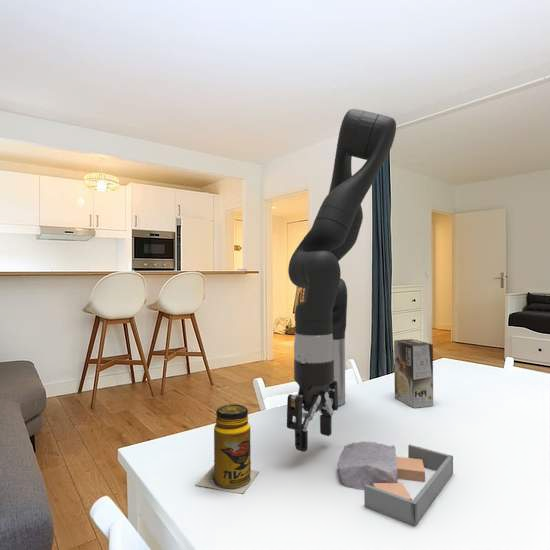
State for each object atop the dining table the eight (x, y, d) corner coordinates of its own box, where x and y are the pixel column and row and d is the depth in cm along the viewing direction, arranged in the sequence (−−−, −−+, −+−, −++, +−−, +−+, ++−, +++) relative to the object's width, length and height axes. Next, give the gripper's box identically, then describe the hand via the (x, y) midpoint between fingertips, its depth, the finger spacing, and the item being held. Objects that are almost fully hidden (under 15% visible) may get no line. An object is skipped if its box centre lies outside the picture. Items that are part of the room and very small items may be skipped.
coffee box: (434, 406, 103) (434, 344, 103) (413, 408, 101) (413, 345, 101) (413, 395, 112) (412, 338, 112) (393, 397, 110) (392, 339, 110)
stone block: (339, 500, 64) (403, 494, 61) (333, 469, 64) (396, 463, 62) (344, 467, 75) (398, 462, 73) (339, 441, 76) (393, 435, 73)
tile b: (396, 480, 67) (396, 468, 67) (395, 467, 71) (395, 456, 71) (425, 483, 65) (424, 471, 65) (422, 470, 70) (422, 459, 70)
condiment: (243, 494, 62) (243, 417, 62) (194, 486, 64) (194, 412, 64) (259, 472, 69) (258, 403, 69) (214, 465, 71) (214, 398, 71)
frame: (364, 506, 58) (364, 485, 58) (409, 460, 73) (409, 444, 73) (415, 526, 54) (415, 504, 54) (453, 473, 68) (452, 455, 68)
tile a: (373, 495, 62) (373, 483, 62) (401, 495, 62) (401, 482, 62) (381, 513, 57) (380, 499, 57) (412, 512, 58) (411, 498, 58)
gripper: (316, 348, 83) (317, 426, 83) (275, 360, 72) (275, 450, 72) (349, 353, 78) (349, 435, 79) (309, 366, 67) (310, 462, 67)
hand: (314, 442), depth 75 cm, fingers open, 8 cm apart
